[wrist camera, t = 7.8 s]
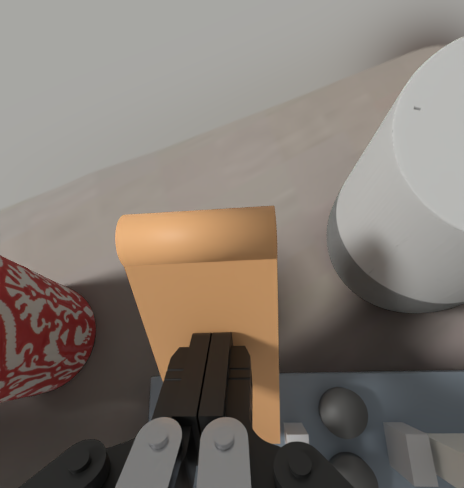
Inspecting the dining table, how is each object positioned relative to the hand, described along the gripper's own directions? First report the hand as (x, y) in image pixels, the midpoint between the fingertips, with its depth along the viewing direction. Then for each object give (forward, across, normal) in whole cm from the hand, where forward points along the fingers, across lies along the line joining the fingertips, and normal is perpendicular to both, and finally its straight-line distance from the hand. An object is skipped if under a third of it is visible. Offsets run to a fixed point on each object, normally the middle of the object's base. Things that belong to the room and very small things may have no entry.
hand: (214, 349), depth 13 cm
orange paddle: (+2, 0, +7) cm, 7 cm away
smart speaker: (+12, -11, +2) cm, 16 cm away
